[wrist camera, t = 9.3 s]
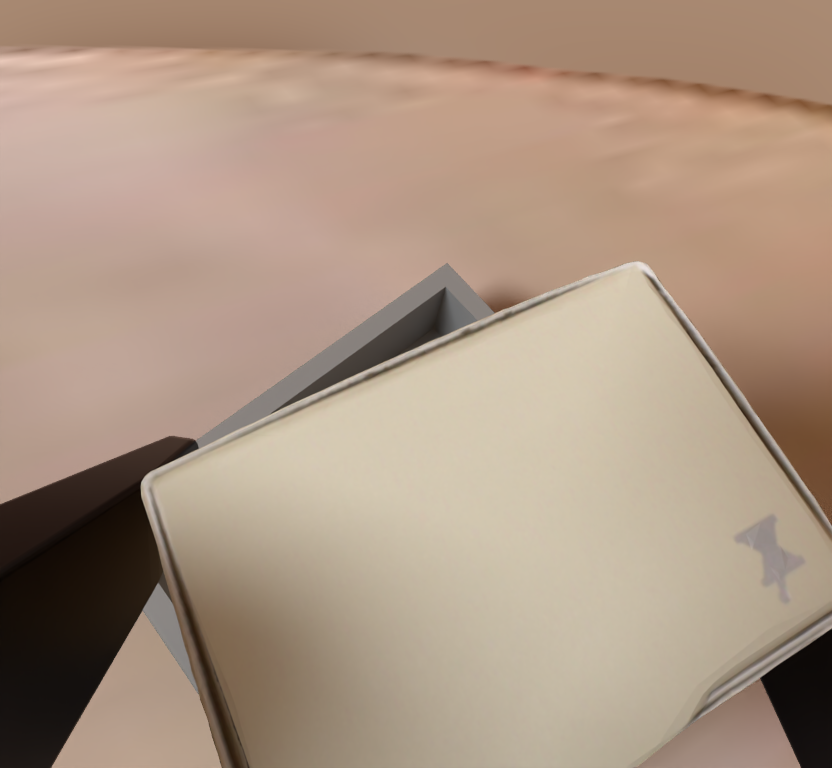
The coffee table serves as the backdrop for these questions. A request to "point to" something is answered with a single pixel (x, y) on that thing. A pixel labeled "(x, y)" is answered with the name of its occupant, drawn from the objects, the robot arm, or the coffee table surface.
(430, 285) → the tray
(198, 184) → the coffee table surface
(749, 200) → the coffee table surface
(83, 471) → the robot arm
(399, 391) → the skincare box
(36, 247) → the coffee table surface
